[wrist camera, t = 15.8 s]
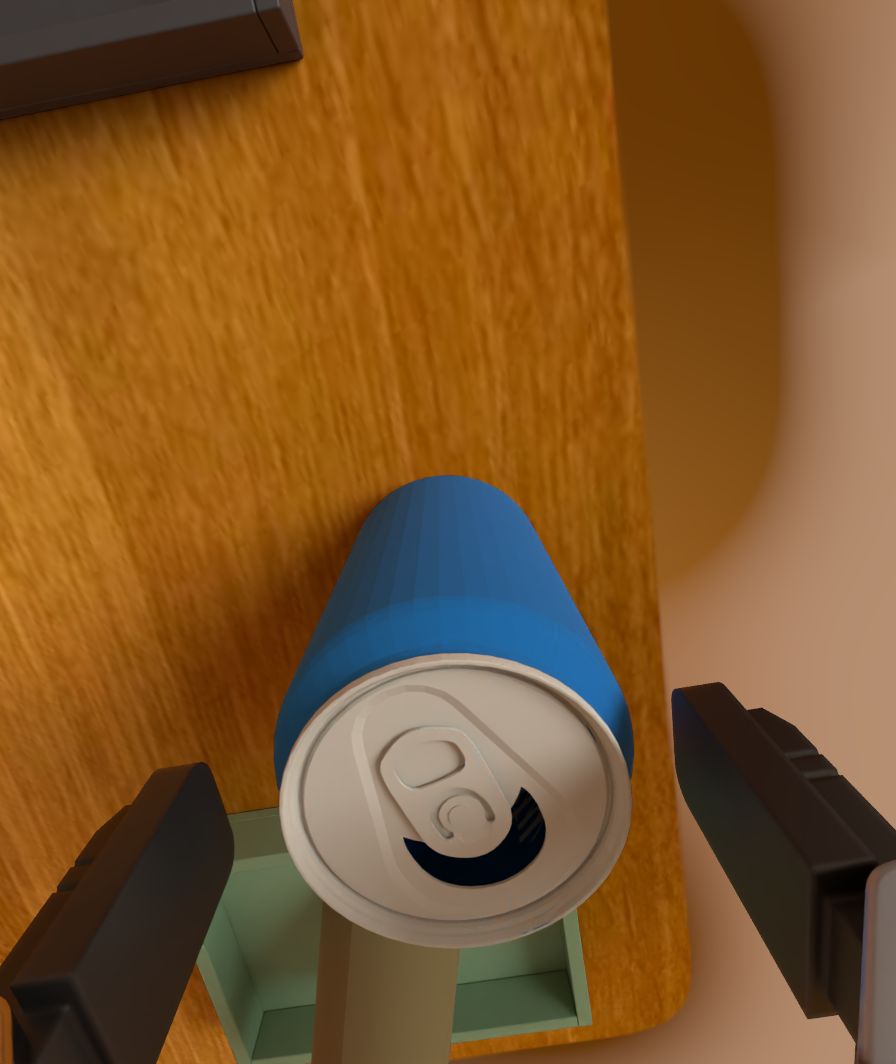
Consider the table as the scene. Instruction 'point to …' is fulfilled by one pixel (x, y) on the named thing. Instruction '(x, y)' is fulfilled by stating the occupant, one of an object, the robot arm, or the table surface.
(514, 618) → the beverage can
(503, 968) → the green tray
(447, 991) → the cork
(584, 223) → the table surface
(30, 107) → the charcoal tray
